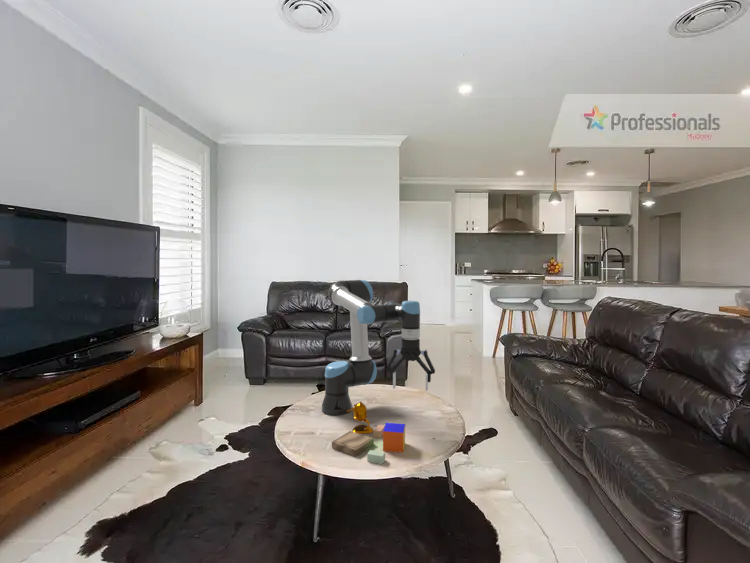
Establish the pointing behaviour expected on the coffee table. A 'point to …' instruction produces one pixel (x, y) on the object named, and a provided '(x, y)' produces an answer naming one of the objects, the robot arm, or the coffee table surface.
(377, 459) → the sage brick
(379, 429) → the terracotta brick
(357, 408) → the figurine
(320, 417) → the coffee table surface
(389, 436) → the cube
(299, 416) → the coffee table surface
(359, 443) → the walnut slab
